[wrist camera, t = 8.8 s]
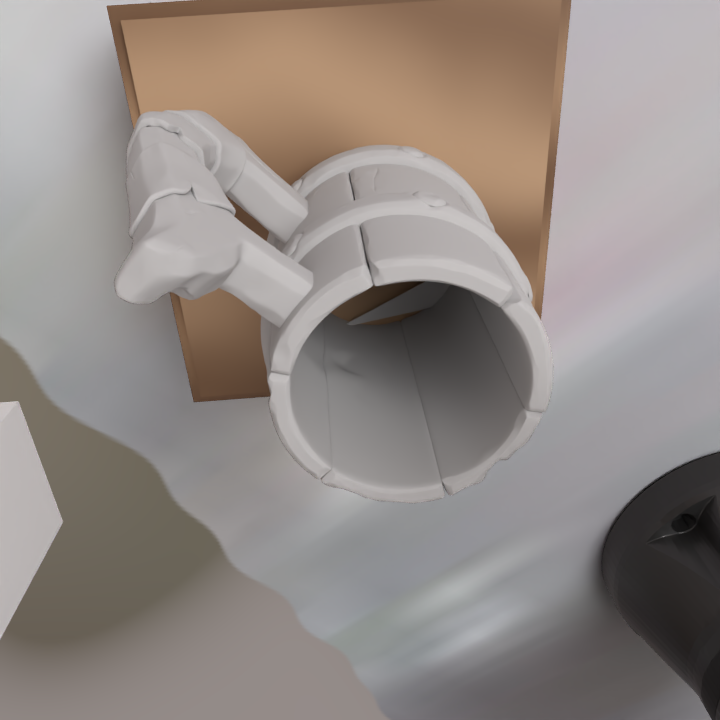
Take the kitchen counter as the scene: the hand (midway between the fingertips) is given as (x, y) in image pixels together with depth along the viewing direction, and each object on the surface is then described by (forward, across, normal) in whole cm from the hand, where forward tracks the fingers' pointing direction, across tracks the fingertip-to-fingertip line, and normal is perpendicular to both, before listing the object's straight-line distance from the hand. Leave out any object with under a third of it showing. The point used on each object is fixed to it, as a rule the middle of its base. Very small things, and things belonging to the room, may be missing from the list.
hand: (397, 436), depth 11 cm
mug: (+12, +1, -1) cm, 12 cm away
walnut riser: (+18, 0, -1) cm, 18 cm away
